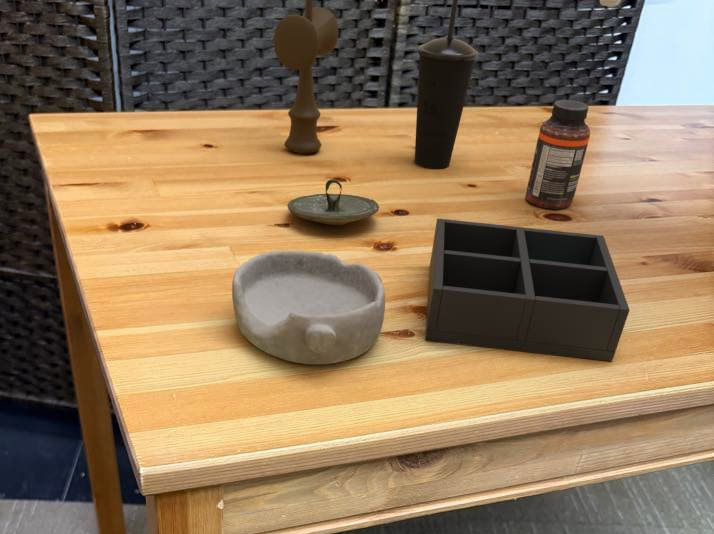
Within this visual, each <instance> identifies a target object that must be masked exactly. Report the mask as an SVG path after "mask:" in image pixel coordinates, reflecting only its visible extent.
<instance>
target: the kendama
mask: <svg viewBox="0 0 714 534" xmlns="http://www.w3.org/2000/svg"><path fill="white" fill-rule="evenodd" d="M339 34H340V33H339V23H338V21H337V19H336V15H335V14H334V13H332V12H331V11H330V10H329V9H327V8H324V7H321V6H315V7H314V0H305V10H304V12H303V14H302V15H299V14H290V15H289V14H288V15H286V16H285V17H283V18H282V19H280V20H279V21H278V23H277V24H276V27H275V29H274V35H273V49H274V53H275V55H276V57H277V60H278V62H279V63H281V64H282V65H283V66H284V67H286V68H287V69H290V70H293V71H299V74H298V82H297V87H296V93H295V98H294V101H293V105H292V106H291V108H290V109H289V110H288V112H287V114H288V117H289V118H290V129H289V134H288V137H287V138H286V140H285V141H284V147H285V148H286V149H287V150H289V151H291V152H293V153H298V154H312V153H315V152H317V151H319V150H320V149H321V148H322V143H321V141H320V139H319V137H318V133H317V132H318V131H317V130H318V129H317V126H318V120H319V119H320V117H321V112H320V110H319V109H318V108H317V103H316V99H315V97H316V96H315V88H314V87H315V86H314V73H313V64H314V63H315V61H316V59H317V58H318V56H326V55H328V54H330V53H332V52H333V50H334V49H335V47H336V46H337V44H338V39H339Z"/></svg>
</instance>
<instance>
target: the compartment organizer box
mask: <svg viewBox="0 0 714 534" xmlns="http://www.w3.org/2000/svg"><path fill="white" fill-rule="evenodd" d="M430 254H431V255H430V262H429V270H428V271H429V272H428V286H427V287H428V289H427V304H426V319H425V320H426V321H425V334H424V335H425V337H424V340H425V341H428V342H429V341H430V342H437V343H446V344H456V345H463V346H471V347H472V346H473V347H481V348H490V349H499V350H506V351H515V350H516V351H517V352H525V353H534V354H543V355H551V356H560V357H561V356H562V357H569V358H577V359H586V360H587V359H588V360H595V361H604V362H613V360H614V357H615V355H616V351H617V348H618V345H619V343H620V339H621V337H622V334H623V332H624V331H623V330H624V328H625V325H626V322H627V319H628V316H629V313H630V307H629V304H628V301H627V299H626V296H625V293H624V290H623V286H622V284H621V282H620V279H619V276H618V273H617V271H616V270H617V269H616V268H615V265H614V262H613V259H612V256H611V254H610V250H609V248H608V245H607V242H606V239H605V237H604V235H602V234H601V235H600V234H590V233H583V232H581V233H580V232H573V231H572V232H569V231H563V230H562V231H561V230H552V229H543V228H532V227H524V226H516V225H515V226H514V225H505V224H495V223H486V222H485V223H484V222H475V221H467V220H458V219H457V220H456V219H447V218H445V219H444V218H436V222H435V230H434V236H433V242H432V249H431V253H430ZM516 351H515V352H516Z"/></svg>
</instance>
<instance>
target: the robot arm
mask: <svg viewBox="0 0 714 534" xmlns="http://www.w3.org/2000/svg"><path fill="white" fill-rule="evenodd" d="M620 3H622V0H599V4H600V6H603V7H604V6H605V7H610V8H614V7H616V6H618V5H620Z"/></svg>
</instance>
